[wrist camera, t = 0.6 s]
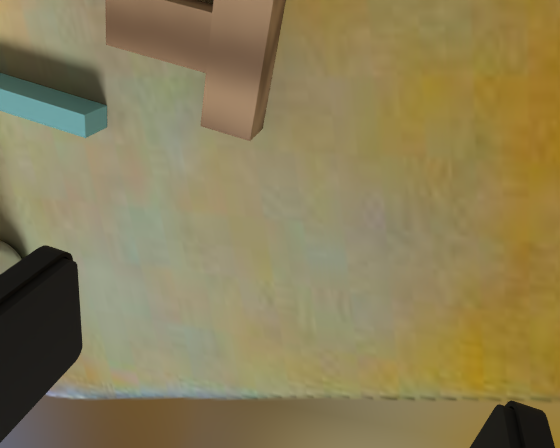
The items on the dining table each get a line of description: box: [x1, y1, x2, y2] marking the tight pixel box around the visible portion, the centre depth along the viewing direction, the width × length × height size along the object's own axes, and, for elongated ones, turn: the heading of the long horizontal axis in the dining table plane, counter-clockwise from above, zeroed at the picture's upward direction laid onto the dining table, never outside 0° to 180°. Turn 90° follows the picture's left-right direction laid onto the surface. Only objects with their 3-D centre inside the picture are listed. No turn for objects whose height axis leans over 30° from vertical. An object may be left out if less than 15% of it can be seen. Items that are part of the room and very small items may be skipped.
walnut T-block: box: [106, 0, 286, 141], centre depth 33 cm, size 12×12×3 cm
